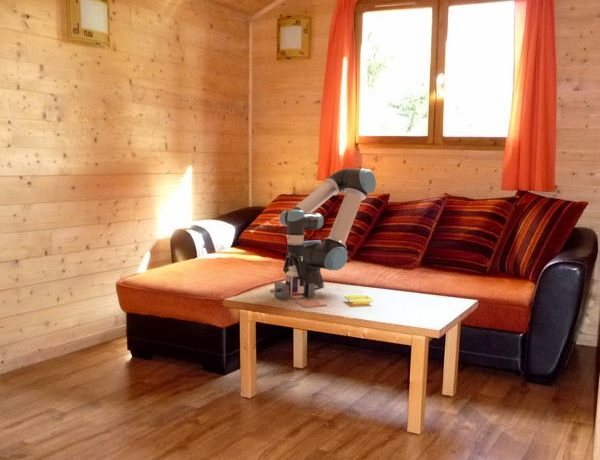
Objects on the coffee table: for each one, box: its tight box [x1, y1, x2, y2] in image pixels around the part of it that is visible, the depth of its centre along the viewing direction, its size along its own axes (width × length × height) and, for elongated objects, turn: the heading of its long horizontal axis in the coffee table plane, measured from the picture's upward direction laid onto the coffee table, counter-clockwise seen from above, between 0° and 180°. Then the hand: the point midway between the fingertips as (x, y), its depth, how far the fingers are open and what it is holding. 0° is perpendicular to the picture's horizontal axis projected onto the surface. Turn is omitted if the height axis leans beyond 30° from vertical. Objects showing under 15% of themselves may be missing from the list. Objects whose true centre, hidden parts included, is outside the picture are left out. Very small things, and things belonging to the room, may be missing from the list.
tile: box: [295, 299, 328, 309], centre depth 281 cm, size 10×10×1 cm
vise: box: [269, 280, 318, 302], centre depth 294 cm, size 24×9×7 cm, turn 117°
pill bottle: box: [285, 266, 304, 300], centre depth 293 cm, size 8×8×14 cm
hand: (294, 290), depth 294 cm, fingers open, 12 cm apart
